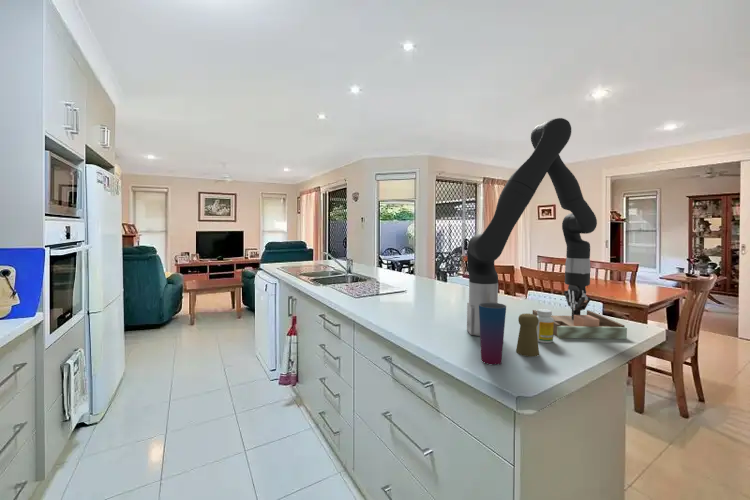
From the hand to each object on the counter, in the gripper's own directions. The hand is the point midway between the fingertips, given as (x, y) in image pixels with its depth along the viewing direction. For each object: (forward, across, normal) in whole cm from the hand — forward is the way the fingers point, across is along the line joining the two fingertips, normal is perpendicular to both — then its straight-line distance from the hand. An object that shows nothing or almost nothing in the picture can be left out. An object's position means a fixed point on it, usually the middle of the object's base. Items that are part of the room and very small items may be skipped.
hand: (575, 320), depth 120 cm
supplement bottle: (+3, +13, -17) cm, 21 cm away
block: (+1, +5, +1) cm, 5 cm away
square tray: (+3, 0, 0) cm, 3 cm away
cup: (+3, +31, -38) cm, 49 cm away
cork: (+3, +24, -26) cm, 35 cm away
